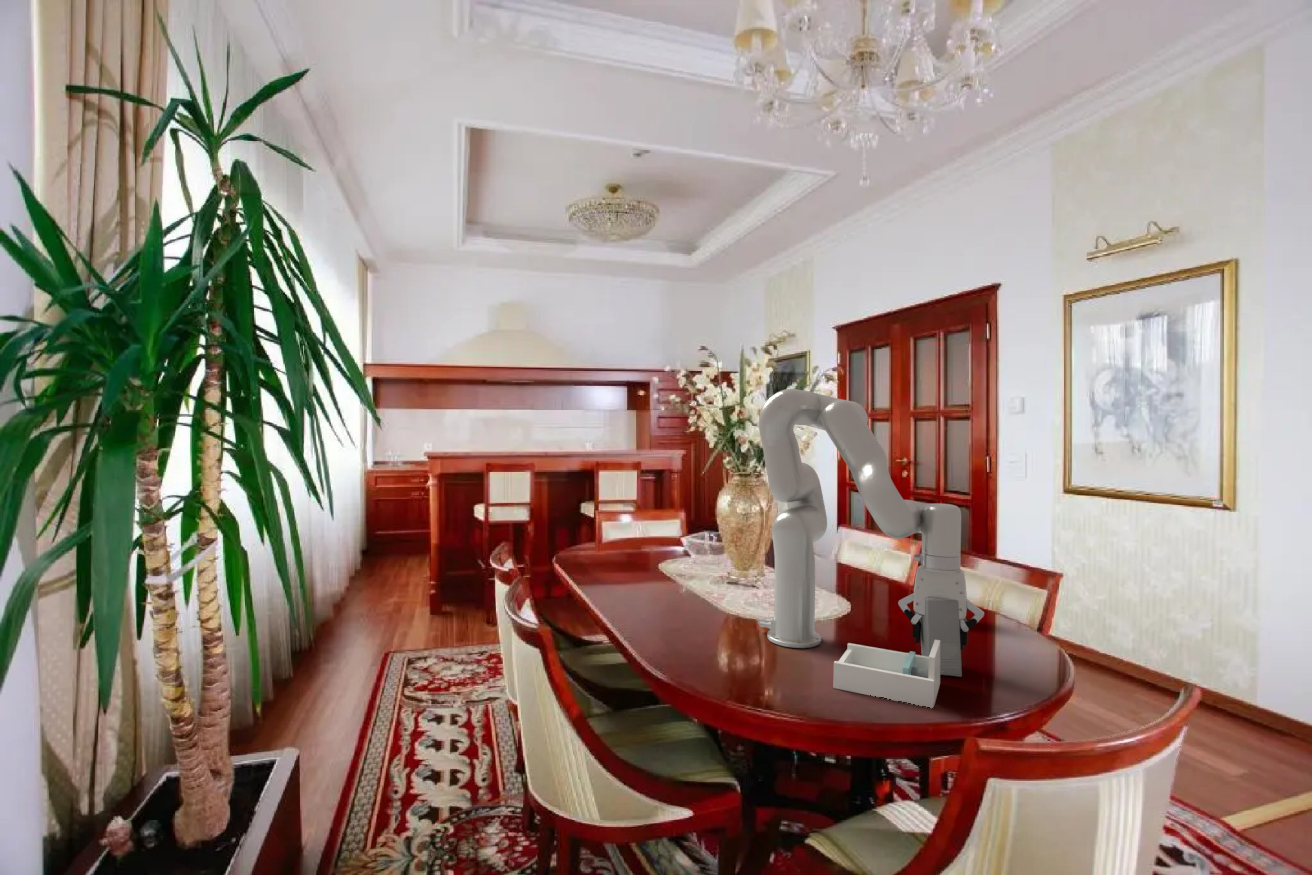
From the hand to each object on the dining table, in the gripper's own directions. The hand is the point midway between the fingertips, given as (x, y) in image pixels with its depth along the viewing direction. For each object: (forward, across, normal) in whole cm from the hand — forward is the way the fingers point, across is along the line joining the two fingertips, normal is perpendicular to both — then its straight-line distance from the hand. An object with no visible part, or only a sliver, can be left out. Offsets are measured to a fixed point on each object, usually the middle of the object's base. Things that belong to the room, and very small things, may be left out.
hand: (939, 644), depth 134 cm
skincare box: (+5, 0, 0) cm, 5 cm away
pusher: (+4, -2, -15) cm, 16 cm away
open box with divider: (+5, -8, -15) cm, 18 cm away
